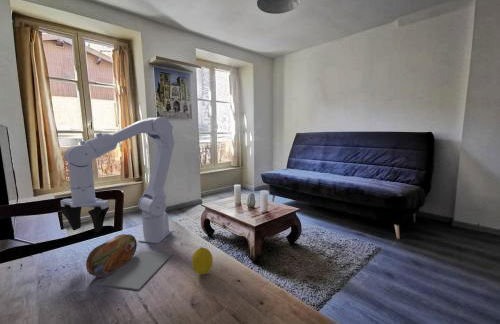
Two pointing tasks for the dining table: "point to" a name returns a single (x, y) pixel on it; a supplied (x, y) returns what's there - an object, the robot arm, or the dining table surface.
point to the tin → (111, 255)
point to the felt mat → (137, 270)
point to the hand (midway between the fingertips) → (87, 229)
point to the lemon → (202, 261)
